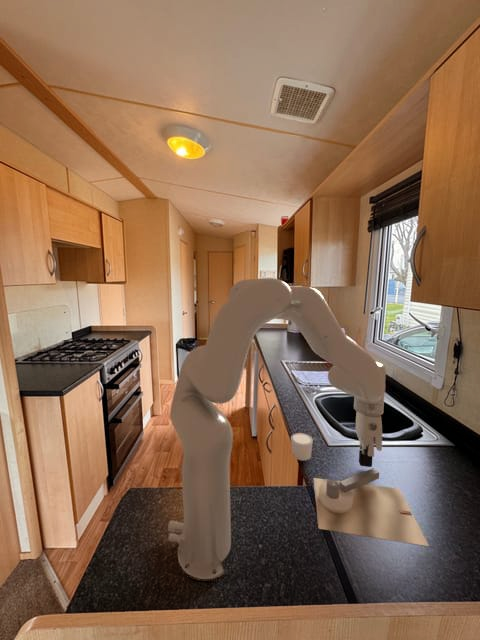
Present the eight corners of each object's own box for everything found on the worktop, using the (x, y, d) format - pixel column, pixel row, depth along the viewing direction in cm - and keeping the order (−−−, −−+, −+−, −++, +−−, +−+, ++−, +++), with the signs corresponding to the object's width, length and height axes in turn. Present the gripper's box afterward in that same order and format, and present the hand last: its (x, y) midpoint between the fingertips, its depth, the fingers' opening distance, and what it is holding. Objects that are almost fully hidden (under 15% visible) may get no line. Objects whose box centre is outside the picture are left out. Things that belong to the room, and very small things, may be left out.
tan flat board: (318, 534, 60) (318, 527, 60) (313, 482, 75) (313, 477, 75) (428, 552, 56) (429, 545, 55) (399, 493, 71) (399, 487, 71)
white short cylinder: (287, 462, 84) (287, 441, 83) (293, 450, 90) (294, 430, 89) (309, 468, 81) (310, 447, 80) (314, 455, 87) (315, 435, 86)
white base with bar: (334, 518, 62) (335, 500, 61) (312, 494, 69) (312, 477, 68) (388, 493, 69) (390, 476, 68) (363, 473, 76) (364, 458, 76)
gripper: (392, 419, 68) (388, 485, 70) (375, 395, 82) (371, 450, 85) (360, 416, 69) (357, 481, 72) (349, 393, 84) (346, 448, 86)
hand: (365, 464), depth 78 cm, fingers closed
